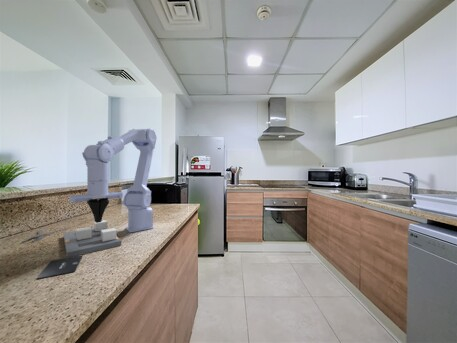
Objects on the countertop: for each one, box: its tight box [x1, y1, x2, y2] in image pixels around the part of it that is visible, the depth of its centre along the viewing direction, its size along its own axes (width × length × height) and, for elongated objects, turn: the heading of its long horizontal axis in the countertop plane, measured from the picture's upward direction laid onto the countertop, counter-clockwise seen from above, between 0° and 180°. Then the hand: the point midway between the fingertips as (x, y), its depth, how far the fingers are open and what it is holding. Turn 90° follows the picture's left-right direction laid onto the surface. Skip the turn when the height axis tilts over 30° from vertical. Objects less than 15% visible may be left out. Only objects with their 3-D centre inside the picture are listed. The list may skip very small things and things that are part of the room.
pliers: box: [21, 225, 71, 244], centre depth 76 cm, size 10×1×20 cm
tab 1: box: [75, 226, 93, 240], centre depth 67 cm, size 4×4×3 cm
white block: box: [101, 227, 118, 242], centre depth 66 cm, size 4×4×3 cm
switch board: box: [63, 227, 122, 258], centre depth 68 cm, size 14×23×2 cm, turn 43°
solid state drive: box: [36, 255, 83, 280], centre depth 50 cm, size 7×10×1 cm
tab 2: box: [93, 219, 109, 231], centre depth 76 cm, size 4×4×3 cm
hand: (98, 221), depth 64 cm, fingers closed
